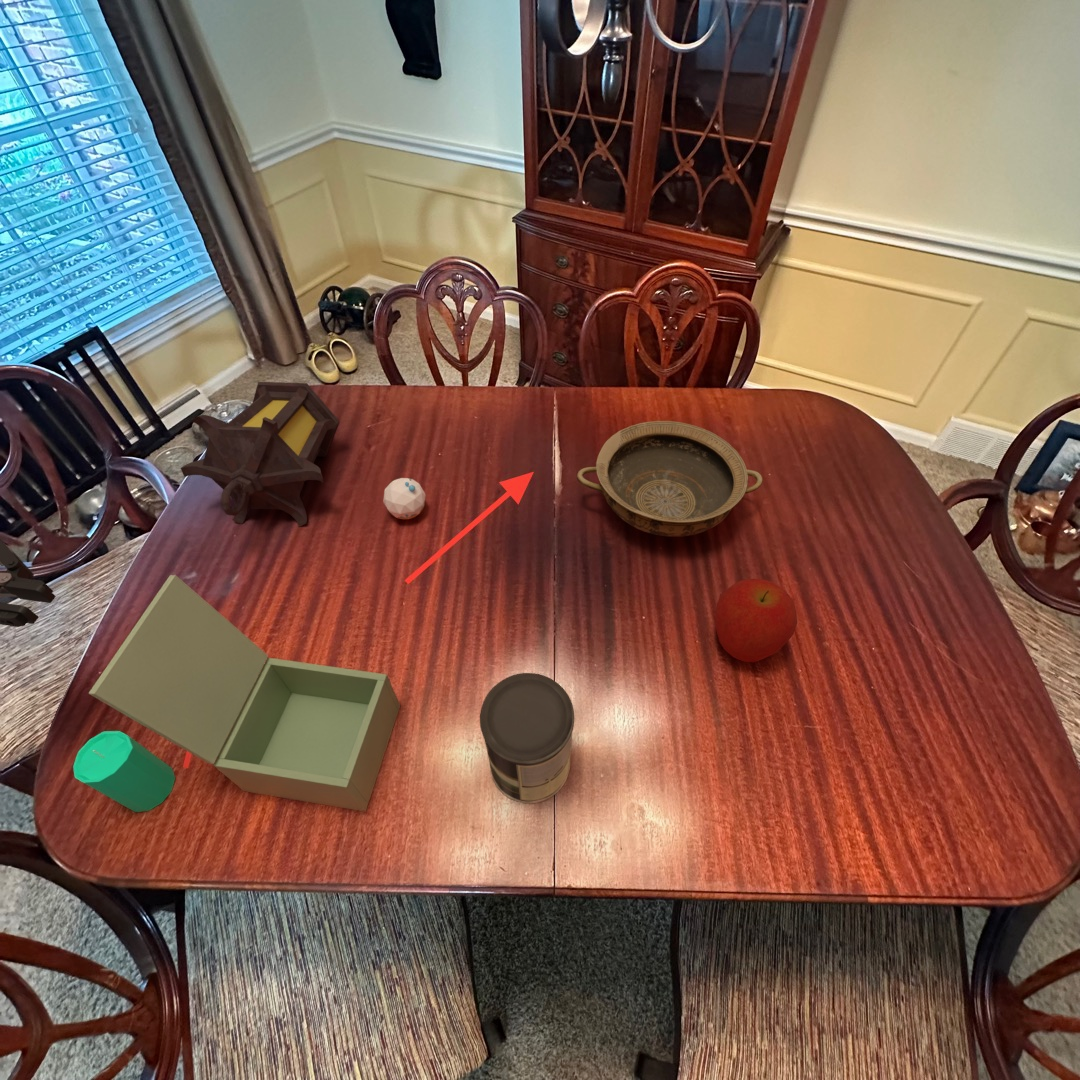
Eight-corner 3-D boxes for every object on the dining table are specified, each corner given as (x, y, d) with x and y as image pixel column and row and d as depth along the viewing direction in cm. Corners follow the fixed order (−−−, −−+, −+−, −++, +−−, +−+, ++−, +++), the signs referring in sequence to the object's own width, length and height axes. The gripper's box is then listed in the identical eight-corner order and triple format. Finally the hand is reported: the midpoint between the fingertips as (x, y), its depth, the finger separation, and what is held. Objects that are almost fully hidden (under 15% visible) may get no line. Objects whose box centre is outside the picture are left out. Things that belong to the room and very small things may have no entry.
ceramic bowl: (740, 465, 111) (754, 422, 103) (762, 567, 95) (781, 526, 88) (577, 459, 112) (579, 416, 105) (573, 559, 97) (575, 517, 89)
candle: (158, 816, 72) (101, 782, 63) (112, 808, 73) (50, 773, 64) (184, 766, 76) (134, 728, 67) (141, 759, 77) (86, 720, 68)
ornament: (384, 527, 102) (373, 494, 96) (394, 497, 107) (384, 463, 101) (423, 529, 102) (415, 496, 96) (431, 499, 106) (424, 465, 100)
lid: (175, 574, 64) (169, 574, 64) (94, 693, 55) (87, 693, 55) (268, 655, 76) (263, 655, 76) (213, 764, 67) (208, 763, 67)
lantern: (367, 466, 119) (313, 570, 96) (252, 453, 119) (171, 554, 96) (355, 363, 105) (288, 457, 82) (224, 349, 105) (121, 438, 82)
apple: (785, 631, 88) (817, 574, 77) (769, 688, 82) (802, 635, 71) (715, 606, 91) (737, 547, 80) (696, 659, 85) (717, 603, 75)
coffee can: (479, 794, 74) (467, 751, 63) (501, 716, 80) (493, 664, 69) (562, 813, 72) (564, 772, 61) (577, 732, 78) (582, 681, 68)
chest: (400, 705, 81) (386, 674, 74) (365, 811, 72) (346, 787, 66) (290, 689, 83) (267, 657, 76) (243, 791, 74) (212, 765, 67)
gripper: (-216, 620, 53) (-44, 646, 51) (-88, 508, 62) (63, 526, 60) (-142, 662, 59) (16, 686, 57) (-34, 554, 68) (105, 572, 66)
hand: (39, 604), depth 59 cm, fingers closed
